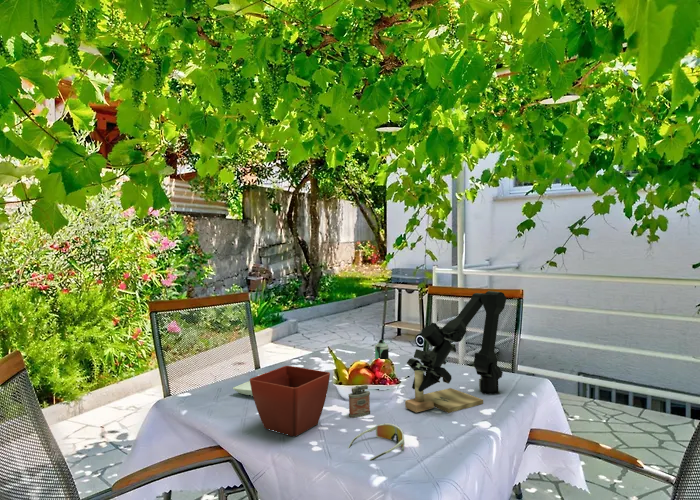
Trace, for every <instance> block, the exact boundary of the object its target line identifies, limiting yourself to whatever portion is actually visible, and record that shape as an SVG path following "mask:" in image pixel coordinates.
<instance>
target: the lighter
mask: <svg viewBox="0 0 700 500" xmlns="http://www.w3.org/2000/svg"><path fill="white" fill-rule="evenodd" d="M368 389H369V386H368V384H363V385H360V386H359V385H355V387H351V393H348V395H347V396H348V417H349V418H361V417H366V416H369V415H370V414H371V410H370V409H371V408H370V406H371V405H370V403H371V401H370V398H371V397H370V395H371V392H370V391H369V390H368Z"/></svg>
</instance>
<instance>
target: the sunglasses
mask: <svg viewBox="0 0 700 500" xmlns="http://www.w3.org/2000/svg"><path fill="white" fill-rule="evenodd" d="M374 431H375V436H376V438H377V439H388V440H390V441H394V440H395V441H396V443H397V444H395V445H394V446H393V447H392V448H390V449H388V450H385V451H383V452H381V453H379V454H377V455H375V456H374V457H372V458H370V459H369V460H370V461H375V460H377V459H378V458H380V457H382V456H384V455H386V454H390V453H391V452H392V451H394V450H395V449H397V448H399V447H401V451H404V450H405V434H404V432H403V430H402V428H401V427H399V426H398V425H396V424H393V423H387V422H385V423H382V424H381V423H380V424H376V425H375V426H373V427H371V428H369V429H367V430H364V431H362V432H361V433H360V434H357V435H356V436H355V437H354V438H353V439H352V440H351V442H350V443H349V445H348V447H347V449H350V448H351V446H352V445H353V443H354V442H355V441H356V440H357V439H359V438H361V437H362V436H363V435H364V434H367V433H372V432H374Z"/></svg>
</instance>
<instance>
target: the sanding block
mask: <svg viewBox="0 0 700 500" xmlns="http://www.w3.org/2000/svg"><path fill="white" fill-rule="evenodd" d="M414 377H415V389H414V396H415V397H414V398H410V399H407V400H405V401H404V402H405V404H404V405H405V409H407V410H410V411H411V412H414V413H419V412H424V411H427V410H431V409H434V408H435V407H434V401H433V400H430V399H428V398H425V397H424V394H425V393H424V391H425V390H423V391H421V392H419V391H418V389H419V387H420V385H421V383H422V382H423V371H422V370H416V371H414Z"/></svg>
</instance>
